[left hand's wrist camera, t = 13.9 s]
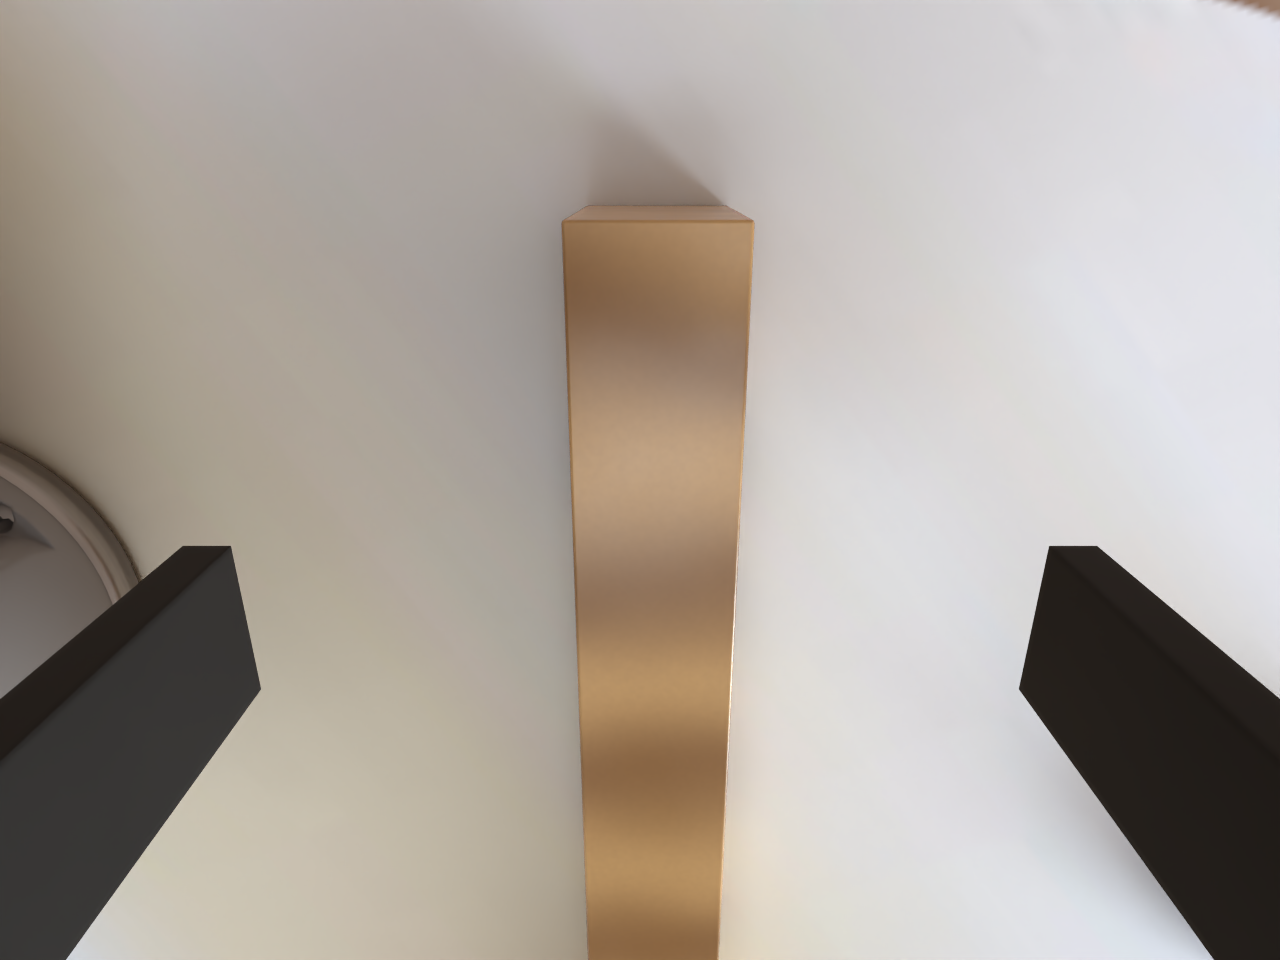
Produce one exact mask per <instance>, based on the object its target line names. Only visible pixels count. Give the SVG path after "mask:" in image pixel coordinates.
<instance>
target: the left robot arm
mask: <svg viewBox="0 0 1280 960" xmlns="http://www.w3.org/2000/svg"><path fill="white" fill-rule="evenodd" d="M260 690H261V687H260V682H259V677H258V673H257V668H256V663H255V658H254V654H253V649H252V644H251V639H250V635H249V630H248V625H247V621H246V616H245V611H244V606H243V602H242V597H241V592H240V587H239V583H238V578H237V573H236V569H235V564H234V559H233V554H232V550H231V546H182V547H181V548H180V549H179V550H178V551H177V552H175V553H174V554H173V555H172V556H171V557H169V558H168V559H167V560H166V561H165V562H163V563H162V564H161V565H160V566H159V567H157V568H156V569H155V570H154V571H153V572H151V573H150V574H149V575H148V576H147V577H145V578H144V579H143V580H142V581H141V582H139V583H138V580H137V577H136V575H135V572H134V570H133V568H132V565H131V563H130V561H129V559H128V557H127V555H126V554H125V552H124V550H123V548H122V546H121V545H120V543H119V542H118V540H117V539H116V537H115V536H114V534H113V533H112V531H111V530H110V529H109V527H108V526H107V525H106V523H105V522H104V521H103V520H102V518H101V517H100V516H99V515H98V514H97V513H96V511H95V510H94V509H93V508H92V507H91V506H90V505H89V504H88V503H87V502H86V501H85V500H84V499H83V498H82V497H81V496H80V495H79V494H78V493H77V492H76V491H75V490H74V489H72V488H71V487H70V486H69V485H68V484H66V483H65V482H64V481H63V480H61V479H60V478H59V477H58V476H56V475H55V474H54V473H52V472H51V471H49V470H48V469H46V468H45V467H44V466H42V465H41V464H39V463H38V462H36V461H34V460H33V459H31V458H29V457H27V456H26V455H24V454H22V453H21V452H19V451H17V450H15V449H13V448H11V447H9V446H7V445H4V444H2V443H0V960H66V959H67V957H68V956H69V955H70V953H71V952H72V951H73V949H74V948H75V946H76V945H77V944H78V942H79V941H80V939H81V938H82V937H83V935H84V934H85V932H86V931H87V930H88V928H89V927H90V926H91V924H92V923H93V921H94V920H95V919H96V917H97V916H98V914H99V913H100V912H101V910H102V909H103V908H104V906H105V905H106V903H107V902H108V901H109V899H110V898H111V896H112V895H113V894H114V892H115V891H116V890H117V888H118V887H119V885H120V884H121V883H122V881H123V880H124V878H125V877H126V876H127V874H128V873H129V871H130V870H131V869H132V867H133V866H134V865H135V863H136V862H137V860H138V859H139V858H140V856H141V855H142V853H143V852H144V851H145V849H146V848H147V847H148V845H149V844H150V842H151V841H152V840H153V838H154V837H155V835H156V834H157V833H158V831H159V830H160V828H161V827H162V826H163V824H164V823H165V822H166V820H167V819H168V817H169V816H170V815H171V813H172V812H173V810H174V809H175V808H176V806H177V805H178V804H179V802H180V801H181V799H182V798H183V797H184V795H185V794H186V792H187V791H188V790H189V788H190V787H191V786H192V784H193V783H194V781H195V780H196V779H197V777H198V776H199V774H200V773H201V772H202V770H203V769H204V767H205V766H206V765H207V763H208V762H209V761H210V759H211V758H212V756H213V755H214V754H215V752H216V751H217V749H218V748H219V747H220V745H221V744H222V743H223V741H224V740H225V738H226V737H227V736H228V734H229V733H230V731H231V730H232V729H233V727H234V726H235V725H236V723H237V722H238V720H239V719H240V718H241V716H242V715H243V713H244V712H245V711H246V709H247V708H248V706H249V705H250V704H251V702H252V701H253V700H254V698H255V697H256V695H257V694H258V693H259V691H260ZM1019 690H1020V691H1021V693H1022V694H1023V695H1024V697H1025V698H1026V700H1027V701H1028V702H1029V704H1030V705H1031V706H1032V708H1033V709H1034V711H1035V712H1036V713H1037V715H1038V716H1039V718H1040V719H1041V720H1042V722H1043V723H1044V725H1045V726H1046V727H1047V729H1048V730H1049V731H1050V733H1051V734H1052V736H1053V737H1054V738H1055V740H1056V741H1057V743H1058V744H1059V745H1060V747H1061V748H1062V749H1063V751H1064V752H1065V754H1066V755H1067V756H1068V758H1069V759H1070V761H1071V762H1072V763H1073V765H1074V766H1075V767H1076V769H1077V770H1078V772H1079V773H1080V774H1081V776H1082V777H1083V779H1084V780H1085V781H1086V783H1087V784H1088V786H1089V787H1090V788H1091V790H1092V791H1093V792H1094V794H1095V795H1096V797H1097V798H1098V799H1099V801H1100V802H1101V804H1102V805H1103V806H1104V808H1105V809H1106V810H1107V812H1108V813H1109V815H1110V816H1111V817H1112V819H1113V820H1114V822H1115V823H1116V824H1117V826H1118V827H1119V828H1120V830H1121V831H1122V833H1123V834H1124V835H1125V837H1126V838H1127V840H1128V841H1129V842H1130V844H1131V845H1132V847H1133V848H1134V849H1135V851H1136V852H1137V853H1138V855H1139V856H1140V858H1141V859H1142V860H1143V862H1144V863H1145V865H1146V866H1147V867H1148V869H1149V870H1150V871H1151V873H1152V874H1153V876H1154V877H1155V878H1156V880H1157V881H1158V883H1159V884H1160V885H1161V887H1162V888H1163V890H1164V891H1165V892H1166V894H1167V895H1168V896H1169V898H1170V899H1171V901H1172V902H1173V903H1174V905H1175V906H1176V908H1177V909H1178V910H1179V912H1180V913H1181V914H1182V916H1183V917H1184V919H1185V920H1186V921H1187V923H1188V924H1189V926H1190V927H1191V928H1192V930H1193V931H1194V932H1195V934H1196V935H1197V937H1198V938H1199V939H1200V941H1201V942H1202V944H1203V945H1204V946H1205V948H1206V949H1207V951H1208V952H1209V953H1210V955H1211V956H1212V957H1213V959H1214V960H1280V699H1279V698H1278V697H1277V696H1276V695H1274V694H1273V693H1272V692H1271V691H1270V690H1268V689H1267V688H1266V687H1265V686H1264V685H1262V684H1261V683H1260V682H1259V681H1258V680H1256V679H1255V678H1254V677H1253V676H1252V675H1250V674H1249V673H1248V672H1247V671H1246V670H1245V669H1243V668H1242V667H1241V666H1240V665H1239V664H1237V663H1236V662H1235V661H1234V660H1233V659H1231V658H1230V657H1229V656H1228V655H1227V654H1225V653H1224V652H1223V651H1222V650H1221V649H1219V648H1218V647H1217V646H1216V645H1215V644H1213V643H1212V642H1211V641H1210V640H1209V639H1207V638H1206V637H1205V636H1204V635H1203V634H1201V633H1200V632H1199V631H1198V630H1197V629H1196V628H1194V627H1193V626H1192V625H1191V624H1190V623H1188V622H1187V621H1186V620H1185V619H1184V618H1182V617H1181V616H1180V615H1179V614H1178V613H1176V612H1175V611H1174V610H1173V609H1172V608H1170V607H1169V606H1168V605H1167V604H1166V603H1164V602H1163V601H1162V600H1161V599H1160V598H1158V597H1157V596H1156V595H1155V594H1154V593H1152V592H1151V591H1150V590H1149V589H1148V588H1147V587H1145V586H1144V585H1143V584H1142V583H1141V582H1139V581H1138V580H1137V579H1136V578H1135V577H1133V576H1132V575H1131V574H1130V573H1129V572H1127V571H1126V570H1125V569H1124V568H1123V567H1121V566H1120V565H1119V564H1118V563H1117V562H1115V561H1114V560H1113V559H1112V558H1111V557H1109V556H1108V555H1107V554H1106V553H1105V552H1103V551H1102V550H1101V549H1100V548H1099V547H1098V546H1049V550H1048V554H1047V559H1046V564H1045V568H1044V573H1043V578H1042V583H1041V587H1040V592H1039V597H1038V602H1037V606H1036V611H1035V616H1034V621H1033V625H1032V630H1031V635H1030V639H1029V644H1028V649H1027V654H1026V658H1025V663H1024V668H1023V673H1022V677H1021V682H1020V687H1019Z"/></svg>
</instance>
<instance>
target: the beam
mask: <svg viewBox="0 0 1280 960" xmlns="http://www.w3.org/2000/svg"><path fill="white" fill-rule="evenodd" d="M754 224H755V223H754V221H753V220H751V219H750V218H748V217H746V216H744V215H742V214H741V213H739V212H737V211H735V210H733V209H732V208H730V207H728V206H587V207H585V208H583V209H581V210H580V211H578V212H576V213H575V214H573V215H571V216H570V217H568V218H566V219H565V220H563V221H562V250H563V278H564V305H565V333H566V361H567V389H568V416H569V444H570V472H571V500H572V527H573V555H574V583H575V610H576V638H577V666H578V694H579V721H580V749H581V777H582V805H583V832H584V860H585V888H586V915H587V943H588V960H718V959H719V939H720V919H721V898H722V878H723V857H724V837H725V816H726V796H727V775H728V755H729V735H730V714H731V694H732V673H733V653H734V632H735V612H736V592H737V571H738V551H739V530H740V510H741V489H742V469H743V448H744V428H745V408H746V387H747V367H748V346H749V326H750V305H751V285H752V264H753V244H754Z"/></svg>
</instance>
